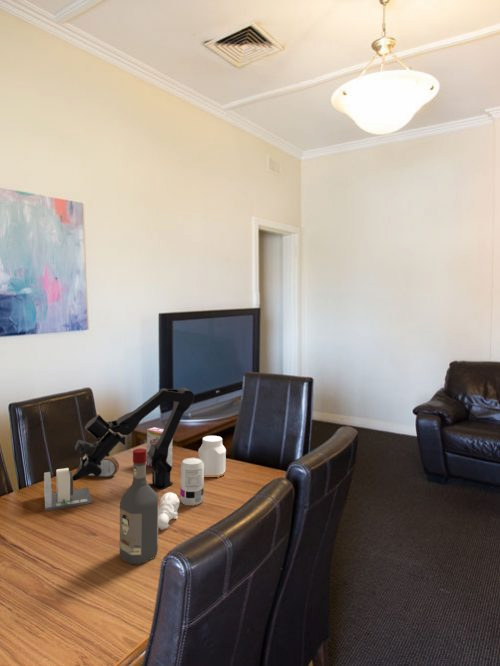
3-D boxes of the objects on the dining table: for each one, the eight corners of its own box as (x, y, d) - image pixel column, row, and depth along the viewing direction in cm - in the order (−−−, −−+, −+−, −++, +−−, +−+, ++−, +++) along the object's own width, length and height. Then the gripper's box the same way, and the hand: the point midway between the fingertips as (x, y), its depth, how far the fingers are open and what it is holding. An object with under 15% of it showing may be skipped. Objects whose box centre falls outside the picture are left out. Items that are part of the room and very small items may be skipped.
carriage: (71, 491, 164) (71, 467, 163) (73, 503, 154) (73, 477, 154) (56, 493, 161) (56, 469, 161) (58, 505, 152) (57, 479, 151)
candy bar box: (145, 466, 194) (146, 429, 193) (153, 463, 199) (154, 426, 198) (164, 471, 188) (165, 433, 187) (172, 468, 193) (173, 430, 192)
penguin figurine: (180, 490, 149) (170, 510, 137) (181, 514, 150) (170, 535, 138) (162, 489, 150) (150, 508, 138) (162, 512, 151) (150, 533, 139)
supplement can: (175, 503, 158) (176, 462, 158) (189, 495, 166) (189, 455, 165) (194, 509, 155) (195, 466, 154) (207, 500, 162) (208, 459, 161)
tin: (119, 475, 183) (119, 455, 183) (116, 478, 180) (116, 458, 179) (84, 473, 185) (84, 453, 184) (80, 476, 181) (80, 456, 181)
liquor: (142, 542, 132) (143, 443, 130) (162, 554, 126) (163, 450, 125) (115, 555, 125) (115, 450, 123) (135, 568, 119) (136, 458, 117)
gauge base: (88, 490, 168) (88, 466, 168) (91, 503, 157) (91, 478, 157) (44, 496, 162) (44, 472, 161) (45, 511, 151) (44, 485, 150)
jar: (196, 477, 183) (197, 441, 182) (199, 469, 192) (200, 434, 192) (224, 478, 183) (225, 442, 182) (226, 469, 192) (226, 435, 192)
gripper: (86, 425, 169) (54, 458, 165) (91, 439, 153) (56, 475, 149) (107, 443, 173) (77, 475, 169) (115, 459, 157) (82, 494, 153)
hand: (73, 479), depth 160 cm, fingers closed, pressing on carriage
